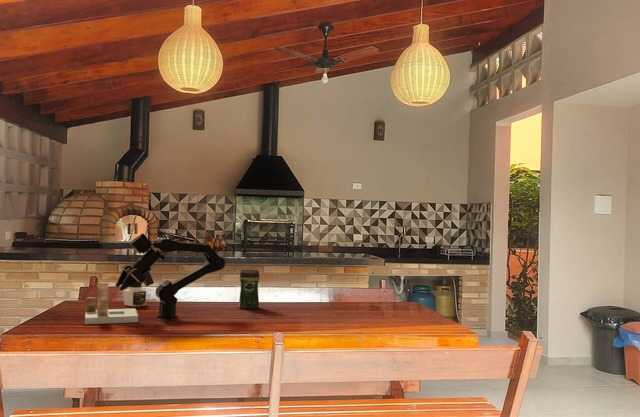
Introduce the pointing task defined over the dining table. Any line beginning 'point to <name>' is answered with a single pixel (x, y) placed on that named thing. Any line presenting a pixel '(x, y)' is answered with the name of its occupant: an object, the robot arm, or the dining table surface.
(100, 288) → the tall beech peg
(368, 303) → the dining table surface
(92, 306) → the short walnut peg
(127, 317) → the hole board
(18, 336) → the dining table surface
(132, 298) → the medicine bottle
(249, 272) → the coffee jar
